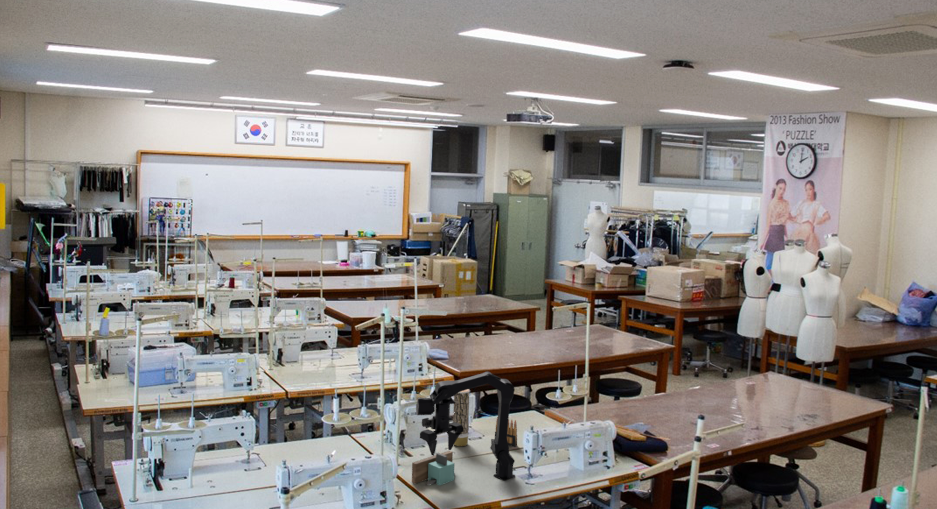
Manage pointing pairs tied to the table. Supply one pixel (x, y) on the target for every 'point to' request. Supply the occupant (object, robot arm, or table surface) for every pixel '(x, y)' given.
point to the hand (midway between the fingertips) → (441, 452)
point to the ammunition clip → (510, 433)
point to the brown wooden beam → (426, 468)
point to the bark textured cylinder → (462, 415)
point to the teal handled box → (441, 469)
